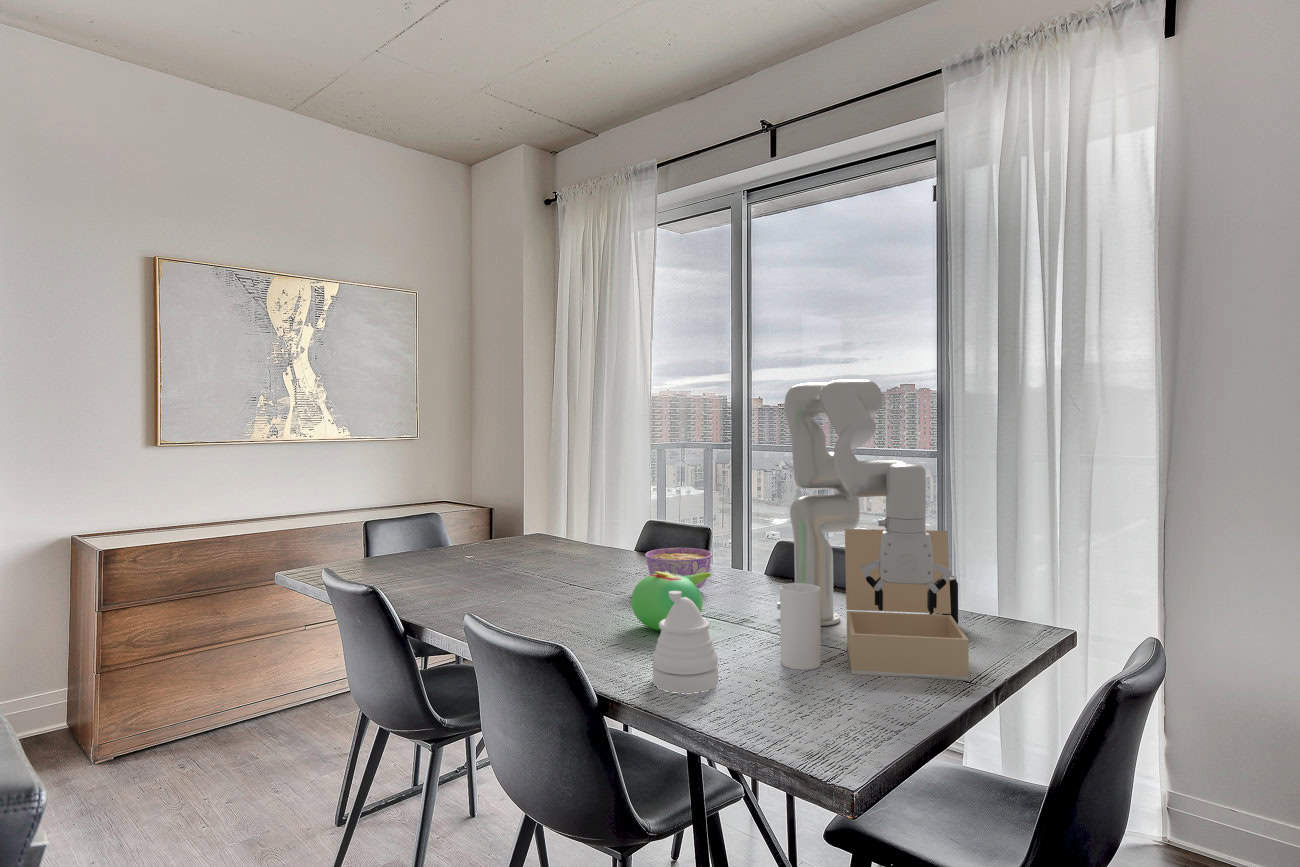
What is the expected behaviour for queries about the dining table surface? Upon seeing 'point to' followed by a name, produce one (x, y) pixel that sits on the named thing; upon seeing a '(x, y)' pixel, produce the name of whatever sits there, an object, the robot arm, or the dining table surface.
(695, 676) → the honey pot
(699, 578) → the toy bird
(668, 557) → the bowl of food
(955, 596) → the beverage can
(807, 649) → the cup
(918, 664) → the mailer box
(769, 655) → the dining table surface
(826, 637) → the dining table surface
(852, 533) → the lid
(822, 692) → the dining table surface
